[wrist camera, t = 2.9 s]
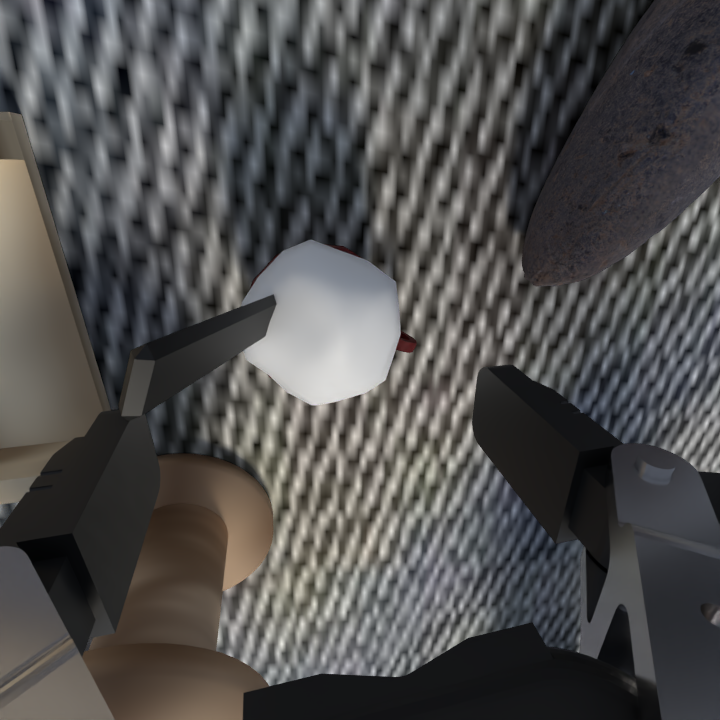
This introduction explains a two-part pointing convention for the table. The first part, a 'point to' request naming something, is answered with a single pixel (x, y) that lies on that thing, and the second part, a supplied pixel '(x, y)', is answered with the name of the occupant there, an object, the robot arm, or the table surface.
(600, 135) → the perforated stone tool
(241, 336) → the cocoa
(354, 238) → the table surface
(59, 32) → the table surface
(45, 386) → the shallow rimmed tray
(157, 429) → the table surface
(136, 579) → the tan spool shaped stand
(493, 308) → the table surface
